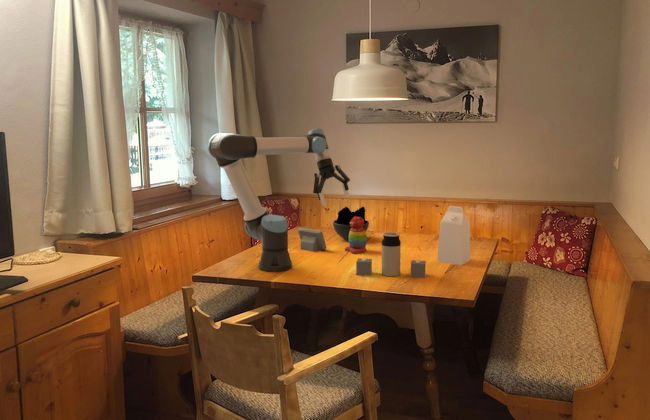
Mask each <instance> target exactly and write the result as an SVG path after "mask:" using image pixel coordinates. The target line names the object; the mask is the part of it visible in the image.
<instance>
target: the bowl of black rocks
mask: <svg viewBox="0 0 650 420" xmlns="http://www.w3.org/2000/svg"><path fill="white" fill-rule="evenodd" d="M354 216H356V217H361V218H362V219H363V220H364V225H363V228H364V229H365V231H366V232H367V231H368V228H369V225H370V222H369V221H368V220H366V207H365V206H361V207H360V208H357V209H356V210H355V211H351V209H350V208H349V207H348V206H345V207H343V208H342V209H340V210H338V213H337V218H336V219H335V220H333V221H332V226H333V229H334V231H335V233H336V235H338V236H339V237H340V238H342V239H344V240H347V241H349V232H350V229H351V228H352V227H351V225H350V221H351V220H352V219H353V218H354Z"/></svg>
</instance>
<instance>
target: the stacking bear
mask: <svg viewBox="0 0 650 420" xmlns="http://www.w3.org/2000/svg"><path fill="white" fill-rule="evenodd" d="M350 225H351V227H352V228H351V229H350V232H349V240H348V245H349V246H345V248H344V251H345V252H350V253H351V254H353V255H357V254H358V255H359V254H364V253H366V252H367V247H366V246H367V242H368V237H367V236H368V235H367V231H365V229H364V228H363V225H364V220H363V219H362V218H361V217H356V216H354V218H353V219H352V220H351V221H350Z"/></svg>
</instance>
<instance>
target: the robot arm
mask: <svg viewBox="0 0 650 420" xmlns="http://www.w3.org/2000/svg"><path fill="white" fill-rule="evenodd" d="M207 151H208V153H209V154H210V155H211V157H212V158H214V159H215V161H216V163H217V165H218V167H219V168H221V169H223V170H224V171H225V174H226V176H227V179H228V180H229V182H230V185H231V187H232V189H233V191H234V194H235V197H236V198H237V200H238V202H239V204H240V207H241V209H242V210H243V213H244V215H243V217H242V218H243V220H244V230H245V232H246V234H247V235H248V236H249V237H251V238H253V239H254V240H257V241H260V242H261V244H262V246H261V255H260V259H259V262H258V269H259V270H261V271H264V272H283V271H288V270H291V269H292V268H293V262H292V260H291V255H290V253H289V241H288V240H289V236H288V235H289V233H288V231H289V229H288V228H289V226H288V225H289V224H288V220H287V218H286V217H284V216H283V215H277V214H269V211H268V210H267V207H265V206H262V203H261V202H260V199H259V197H258V195H257V193H256V191H255V188H254V187H253V186H254V185H253V184H252V182H251V179H250V177H249V175H248V173H247V169H246V168H245V167H244V164H243V162H242V160H243V159H251V158H252V159H253V158H256V157H257V156H264V155H265V156H271V155H287V154H288V155H292V154H293V155H294V154H295V155H296V154H313V155H314V158H315V161H316V166H317V169H318V172H317V173H314V174H313V175H314V183H313V191H312V192H313V194H316V195H317V197H318V200H320V203H321V205H322V207H325V206H327V202H326V199H325V196H324V192H322V191H323V188H324V186H325V183H326V180H328V179H330V178H331V179H332V178H334V179H336V180H337V181H339V182H340V183H341V187H342V189H343V194H344V197H345V198H346V199H348V198H350V194H349V190H350V189H349V188H350V187H349V186H348V183H349V182H350V181H351V179H350V177H349V176H348V175H347V174H346V172H344V171H343V170H342V167H341V166H340V165H339V164H336V165H334V163H333V160H332V158H331V153H330V148H329V146H328V142H327V138H326V134H325V132H324V130H323V128H320V127H318V128H313V129H311V130H309V131H308V134H305V135H298V136H289V137H288V136H286V137H285V136H283V137H281V136H280V137H279V136H278V137H276V136H275V137H274V136H273V137H270V136H269V137H257V136H254V135H252V134H251V135H245V134H240V133H239V134H238V133H234V132H224V131H223V132H217V133H215V134H213V135H212V136H211V137H210V138H209V140H208V143H207ZM335 171H336V172H337V173H336V172H335Z"/></svg>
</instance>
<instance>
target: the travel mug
mask: <svg viewBox="0 0 650 420" xmlns="http://www.w3.org/2000/svg"><path fill="white" fill-rule="evenodd" d="M382 236H383V238H382V240H381V274H382V275H383V276H385V277H392V278H393V277H397V276H400V275H401V242H402V241H401V240H400V236H401V234H400V232H396V231H394V232H393V231H389V232H383V233H382Z"/></svg>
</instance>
